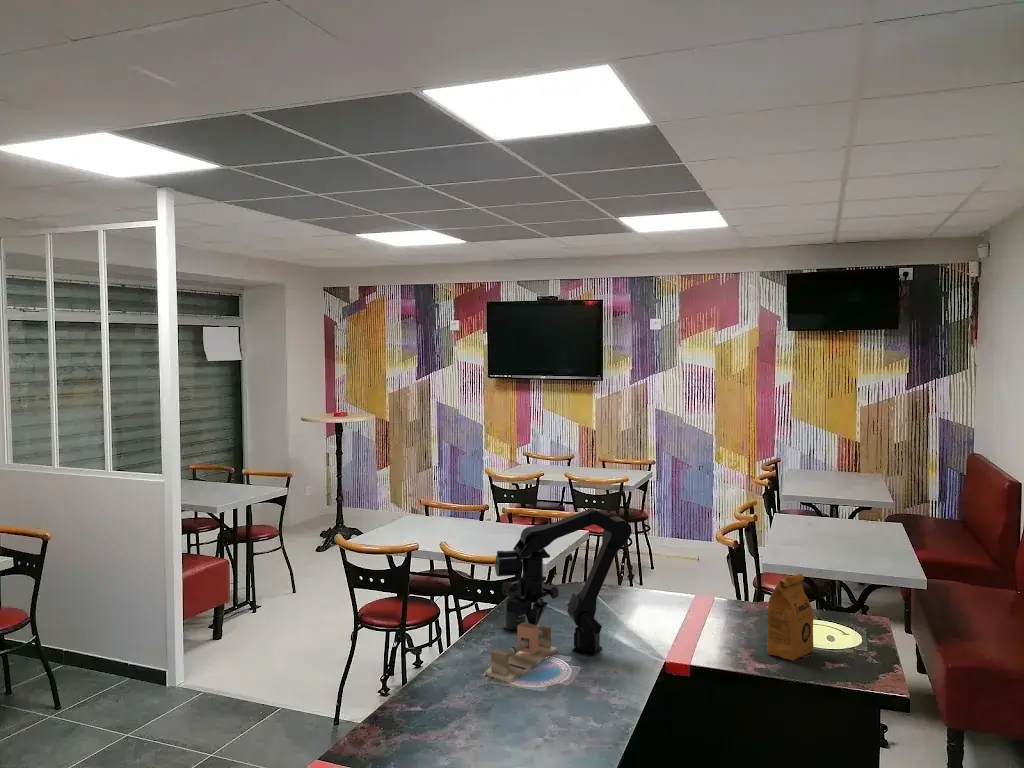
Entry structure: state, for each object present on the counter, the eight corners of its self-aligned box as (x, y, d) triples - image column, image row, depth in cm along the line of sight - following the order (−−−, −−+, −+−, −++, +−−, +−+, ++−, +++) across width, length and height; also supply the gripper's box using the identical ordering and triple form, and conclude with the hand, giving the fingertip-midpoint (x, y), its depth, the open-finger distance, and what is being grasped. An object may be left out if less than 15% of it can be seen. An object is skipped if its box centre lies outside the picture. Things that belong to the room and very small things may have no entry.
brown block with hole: (523, 646, 205) (523, 622, 205) (538, 650, 202) (538, 625, 202) (517, 650, 202) (517, 625, 202) (532, 654, 200) (532, 628, 199)
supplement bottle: (524, 632, 222) (524, 593, 222) (502, 630, 224) (502, 591, 223) (528, 624, 229) (528, 586, 229) (507, 622, 230) (506, 585, 230)
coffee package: (819, 654, 204) (820, 576, 203) (793, 665, 197) (793, 584, 196) (788, 643, 212) (788, 568, 211) (761, 653, 205) (761, 575, 204)
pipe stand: (533, 645, 212) (533, 622, 212) (557, 651, 208) (557, 628, 208) (485, 675, 192) (484, 651, 192) (510, 682, 188) (510, 657, 188)
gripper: (526, 561, 216) (526, 613, 217) (489, 577, 201) (489, 633, 201) (559, 567, 210) (559, 621, 210) (523, 584, 194) (523, 642, 195)
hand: (532, 628), depth 204 cm, fingers closed
